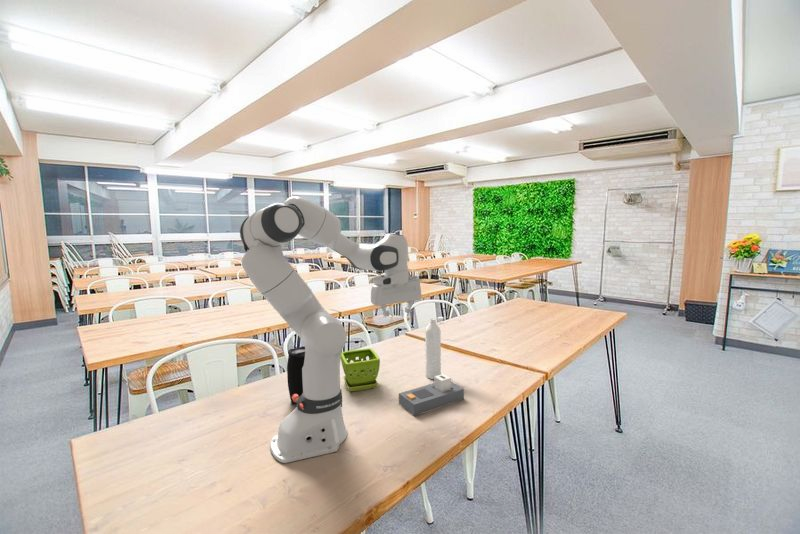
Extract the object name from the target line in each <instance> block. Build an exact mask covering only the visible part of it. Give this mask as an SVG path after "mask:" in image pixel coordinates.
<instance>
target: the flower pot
mask: <svg viewBox="0 0 800 534" xmlns="http://www.w3.org/2000/svg"><path fill="white" fill-rule="evenodd" d="M367 358H368V359H367ZM380 360H381V359H380V357H379V356H378V354H377V352H376V351H375V350H374V349H373V348H371V347H369V348H361V349H354V350H346V351H342V354H341V360H340V363H341V366H342V369H343V373H344V376H343V380H344V383H345V385H346V387H347V389H348V391H350V392H356V391H362V390H363V391H365V390H369V389H375V388H376V387H377V386H378V381H377V378H378V375H379V371H380V364H381V361H380ZM351 361H352V362H351Z"/></svg>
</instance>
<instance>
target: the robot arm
mask: <svg viewBox="0 0 800 534" xmlns="http://www.w3.org/2000/svg"><path fill="white" fill-rule="evenodd" d="M341 232H342V222H341V220H340V219H339V218H338V216H336V215H335V214H334V213H333V212H332V211H330V210H328V209H327V208H325V207H323V206H322V205H320V204H318V203H315V202H314V201H313V200H309V199H306V198H304V197H301V196H297V195H294V196H290V197H288V198H286V200H284V202H276V203H271V204H269V205H267V206H266V207H264V208H260V209H258V210H256V211H255V212H253V213H252V214H251V215H250V216H248V217H247V218H245V219H244V221H243V222H242V223H241V225H240V228H239V236H240V239H241V243H242V244H243V248H244V250H245V253H244V255H243V257H242V259H241V267H242V269H243V270H244V272H245V273H246V275H247V277H248V278H249V280H250V281H251V283H252V284H253V286H254V287H255V288H256V290H257V291H258V292H259V293H260V294H261V295H262V296H263V298H265V299H266V301H267V302H268V303H269V305H270V306H272V308H273V309H274V310H275V311H276V312H277V313H278V314H279V316H280V317H281V318H282V319H283V320H284V321H285V322H286V324H287V325H288V326H289V327H290V328H291V329H292V330H293V331H294V332H295V334H296V335H297V336H298V337H299V338H300V340H302V342H303V344H304V345H303V346H305V359H304V366H303V368H302V381H303V393H302V395H301V396H300V397H299V396H298V394H294V395H293V396H292V399H293V401H294V402H297V405H296V407H295V408H294V409H293V410H292V411H291V412H290V413H289V414H287V416H285V417H284V418H283V419H282V420H281V422H280V423H279V425H278V430H277V431H278V432H277V434H275V435H274V436H273V437H272V438H271V439H270V443H269V445H270V446H269V447H270V452H271V454H272V456H273V457H274V459H275V460H276V461H278V462H280V463H283V464H287V463H291V462H295V461H300V460H304V459H305V460H306V459H308V458H309V459H310V458H313V457H318V456H322V455H327V454H331V453H332V454H333V453H335V452H337V451H338V450H339V448H340V445H341V444H342V443H343V442H344V441H345V440H346V438H347V437H348V429H347V428H346V424H345V421H344V417H343V416H344V415H343V410H342V409H343V408H342V407H343V390H342V389H341V372H340V370H341V369H340V367H341V354H342V352H343V349H344V347H345V346H346V343H347V339H348V338H347V336H348V335H347V331H346V330H345V328H344V325H343V324H342V322H341V321H340V320H339V319H338V318H336V317H334V316H333V315H332V314H330V312H328V311H327V310H326V309H325V308H324V306H322V304H321V303H320V301H319V300H318V298H317V297H316V296H315V294H314V292H313V291H312V289H311V287H310V286H309V285H308V284H307V283H306V281H305V280H304V279H303V278H302V277H301V275H300V274H299V273H298V271H296V268H294V266H293V265H292V264H291V263H290V262H289V261H288V260H287V259H286V257H285V255H284V253H283V249H282V245H284V244H286V243H288V242H291V241H293V239H295V238H296V237H297V236H301V237H302V238H304V239H306V240H307V241H310V242H311V243H315V244H317V245H320V246H321V247H325V248H326V247H327V248H328V249H331V250H333V251H334V252H335V253H338V254H339V255H341V256H343V257H344V258H345V259H346V260H347V261H348V262H349V264H350V265H351V266H352V267H353V268H354V269H356V270H360V271H362V270H363V271H364V270H365V271H366V270H367V271H371V272H372V271H373V272H383V271H384V272H383V273H381V274H378V275H376V276H374V277H372V286H371V290H370V302H371V303H372V305H373V306H375V307H377V306H378V307H379V306H380V309H381V310H382V312H383V314H382V315H383V317H385V318H386V317H389V316H390V311H389V310H387V309H386V308H387V305H393V304H397V303H398V304H399V303H407V305H406V307H404V312H405V313H406V314H409V313H411V312H412V310H411V309H412V307H413V305H414V301H419V300H421V298H422V289H421V288H422V287H421V279H420V277H418V276H417V275H411V276H409V266H408V261H409V247H408V241H407V238H406V236H404V235H403V234H399V233H398V234H397V233H387V234H385V236H384V237H383V238H381V239H380V240H379V241H378V242H375V243H366V242H355V241H353V240H351V239H350V238H349V237H347V236H345V235H344V234H342V233H341Z"/></svg>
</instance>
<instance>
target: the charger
mask: <svg viewBox="0 0 800 534" xmlns="http://www.w3.org/2000/svg"><path fill="white" fill-rule="evenodd" d="M451 382H452V377H450V376H448V375H446V374H445V373H441V375H438V376H434V379H433V383H434V388H435V389H436V390H438V391H439V392H441V393H442V392H445V391H448V390H451Z"/></svg>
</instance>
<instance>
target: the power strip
mask: <svg viewBox="0 0 800 534" xmlns="http://www.w3.org/2000/svg"><path fill="white" fill-rule="evenodd" d="M463 400H465V389H464V388H463V387H461V386H459V385H458V384H456V383H454V382H452V381H451V390H448V391H445V392H442V393H441V392H439V391H438V390H436V389H435V388H434V382H433V383H430V384H429V383H428V384H425V385H423V386H419V387H416V388H412V389H409V390H405V391H402V392H398V405H400V406H401V407H402V408H404V409H405V410H406V411H408V412H409V413H410V414H411V415H413V416H414V417H415V416H418V414H419V415H422V414H425V413H426V412H431V411H434V410H436V409H439V408H442V407H445V406H448V405H451V404H454V403H457V402H460V401H463ZM421 413H422V414H421Z"/></svg>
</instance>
